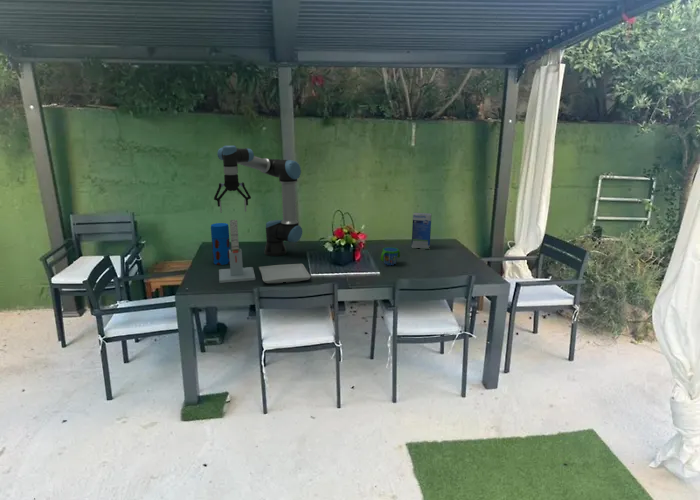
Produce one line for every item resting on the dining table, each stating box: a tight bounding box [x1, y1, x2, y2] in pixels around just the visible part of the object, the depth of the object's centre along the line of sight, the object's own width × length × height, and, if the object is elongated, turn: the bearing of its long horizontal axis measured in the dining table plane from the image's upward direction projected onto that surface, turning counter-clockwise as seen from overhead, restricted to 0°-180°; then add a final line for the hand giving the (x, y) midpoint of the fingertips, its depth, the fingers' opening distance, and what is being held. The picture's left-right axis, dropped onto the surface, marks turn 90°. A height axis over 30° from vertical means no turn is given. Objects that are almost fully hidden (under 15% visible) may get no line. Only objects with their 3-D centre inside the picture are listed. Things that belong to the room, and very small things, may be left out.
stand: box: [218, 248, 256, 284], centre depth 259 cm, size 20×20×16 cm
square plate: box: [258, 263, 311, 284], centre depth 261 cm, size 27×27×4 cm
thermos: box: [210, 222, 231, 266], centre depth 282 cm, size 11×11×25 cm
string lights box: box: [411, 212, 432, 249], centre depth 322 cm, size 13×8×26 cm, turn 77°
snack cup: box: [380, 246, 401, 266], centre depth 286 cm, size 16×10×10 cm
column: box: [229, 219, 240, 252], centre depth 256 cm, size 4×4×26 cm
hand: (233, 211), depth 251 cm, fingers open, 13 cm apart
